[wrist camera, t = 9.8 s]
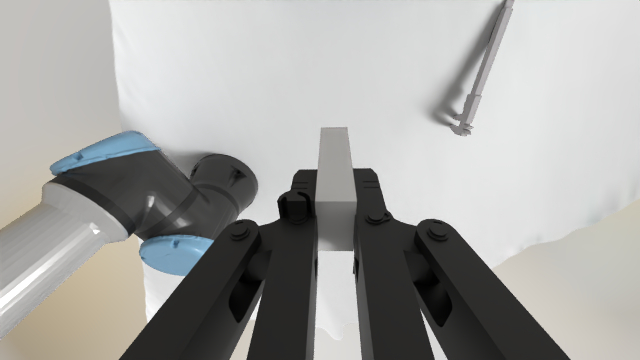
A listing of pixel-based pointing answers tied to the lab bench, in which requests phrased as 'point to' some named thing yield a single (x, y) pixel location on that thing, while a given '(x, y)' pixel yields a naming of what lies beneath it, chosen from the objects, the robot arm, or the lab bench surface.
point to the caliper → (483, 72)
